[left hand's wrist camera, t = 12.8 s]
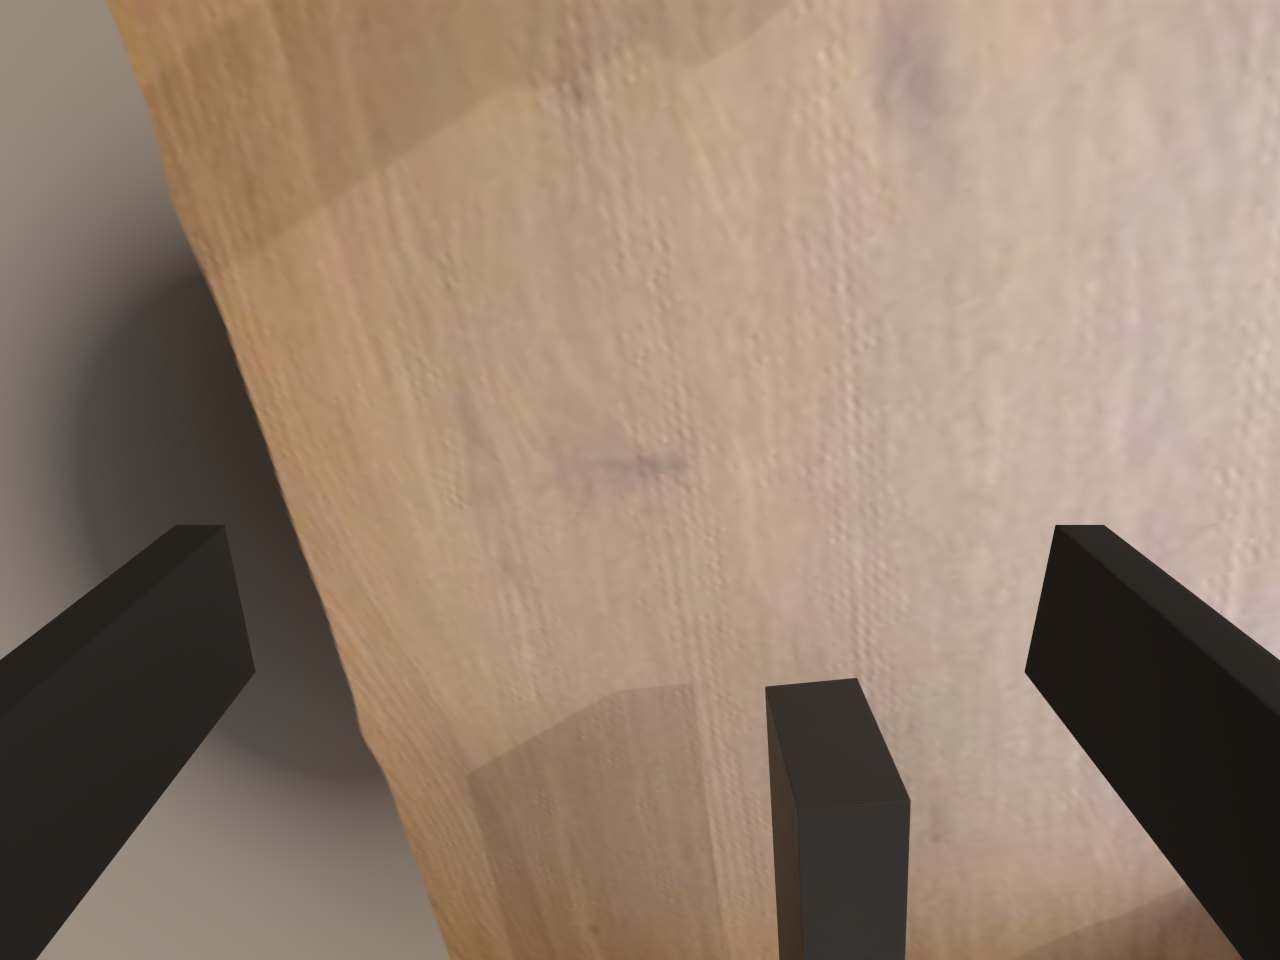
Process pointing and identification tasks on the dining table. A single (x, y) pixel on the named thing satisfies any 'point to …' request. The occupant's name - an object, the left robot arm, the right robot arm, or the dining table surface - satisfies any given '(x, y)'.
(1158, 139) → the dining table surface
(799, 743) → the bar
